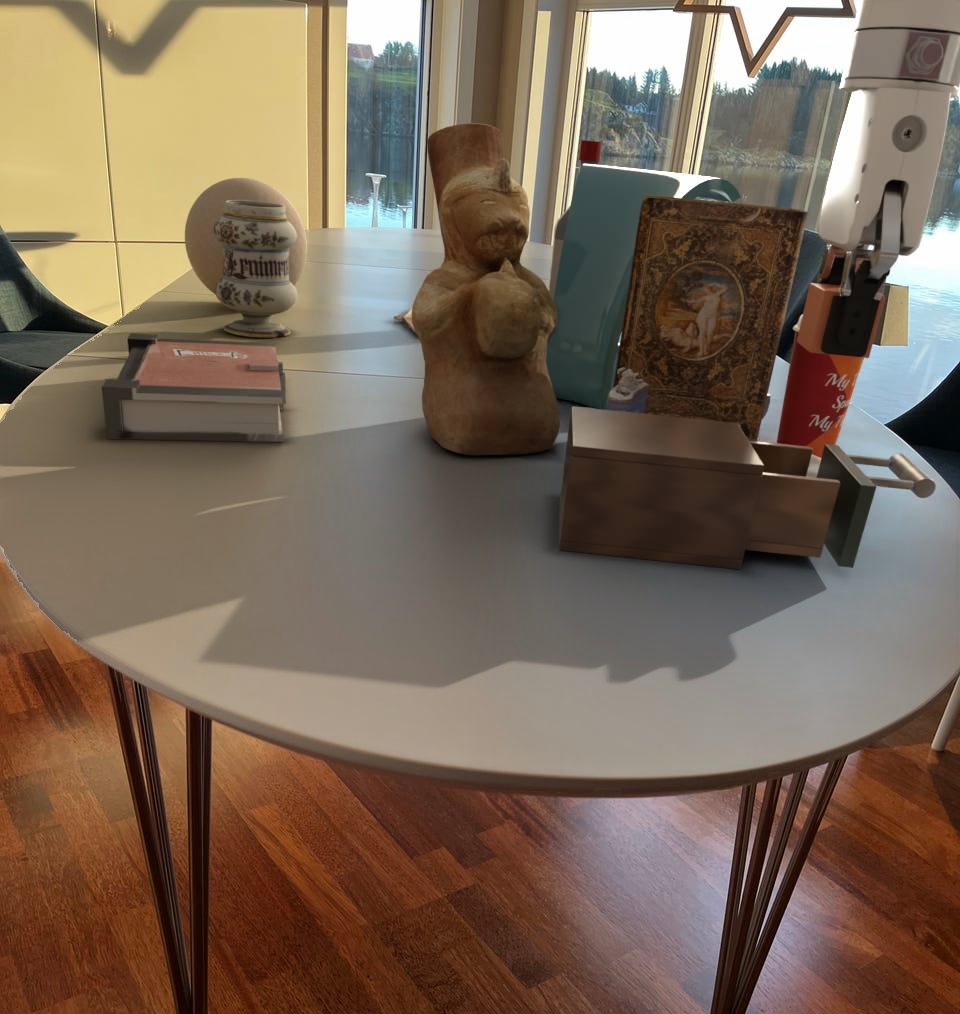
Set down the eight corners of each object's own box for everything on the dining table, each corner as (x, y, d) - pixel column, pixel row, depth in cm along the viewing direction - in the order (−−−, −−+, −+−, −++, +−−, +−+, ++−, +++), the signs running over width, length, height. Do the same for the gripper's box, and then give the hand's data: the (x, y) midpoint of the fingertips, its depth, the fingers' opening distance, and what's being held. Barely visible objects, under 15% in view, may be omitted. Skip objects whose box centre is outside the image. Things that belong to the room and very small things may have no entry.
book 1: (290, 442, 95) (289, 392, 93) (107, 438, 91) (101, 387, 89) (281, 380, 118) (280, 339, 115) (134, 375, 114) (130, 333, 112)
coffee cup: (825, 474, 101) (863, 329, 94) (753, 455, 105) (784, 315, 98) (850, 459, 107) (887, 322, 100) (781, 442, 111) (812, 310, 104)
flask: (615, 494, 89) (633, 380, 84) (585, 488, 90) (601, 375, 85) (637, 469, 97) (655, 363, 92) (610, 464, 98) (625, 359, 93)
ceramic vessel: (440, 464, 93) (461, 118, 79) (377, 407, 110) (385, 115, 96) (581, 458, 99) (625, 134, 85) (500, 404, 116) (525, 129, 102)
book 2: (750, 449, 107) (803, 209, 96) (755, 463, 102) (812, 212, 91) (606, 432, 109) (641, 194, 97) (605, 445, 104) (642, 196, 92)
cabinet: (718, 515, 86) (737, 422, 82) (740, 569, 75) (764, 465, 71) (559, 498, 87) (571, 405, 83) (558, 550, 76) (572, 445, 72)
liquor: (545, 325, 171) (566, 138, 157) (544, 316, 179) (563, 138, 165) (595, 329, 171) (620, 143, 157) (592, 321, 179) (615, 143, 165)
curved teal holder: (574, 370, 137) (590, 157, 123) (772, 391, 130) (813, 168, 116) (526, 422, 115) (539, 171, 101) (760, 451, 108) (809, 186, 94)
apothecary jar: (260, 343, 137) (257, 207, 128) (199, 329, 141) (192, 198, 133) (313, 333, 146) (313, 206, 138) (254, 321, 151) (251, 198, 143)
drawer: (878, 524, 85) (901, 446, 82) (920, 575, 75) (948, 488, 71) (669, 503, 86) (684, 424, 82) (683, 550, 75) (701, 463, 72)
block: (852, 347, 74) (868, 288, 72) (869, 358, 70) (885, 296, 68) (796, 341, 74) (810, 282, 72) (809, 352, 70) (824, 290, 68)
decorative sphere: (325, 315, 161) (326, 186, 152) (210, 317, 151) (203, 179, 142) (282, 295, 176) (280, 176, 166) (174, 296, 166) (165, 169, 156)
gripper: (1013, 64, 56) (920, 376, 64) (916, 82, 71) (851, 333, 79) (885, 52, 56) (809, 366, 64) (816, 72, 71) (762, 324, 79)
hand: (833, 345), depth 72 cm, fingers closed on block, 4 cm apart
